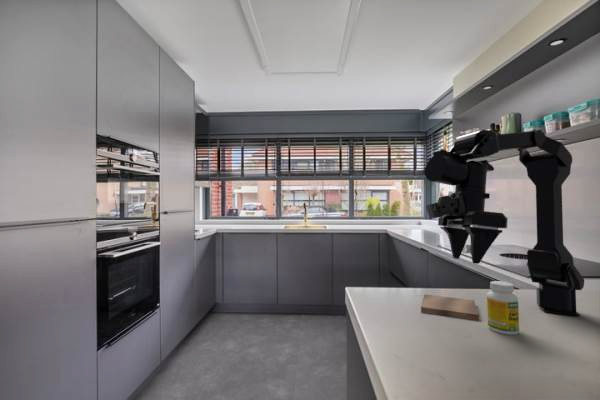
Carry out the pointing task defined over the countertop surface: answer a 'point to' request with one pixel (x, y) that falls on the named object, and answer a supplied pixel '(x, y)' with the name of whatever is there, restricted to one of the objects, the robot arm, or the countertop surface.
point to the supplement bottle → (502, 308)
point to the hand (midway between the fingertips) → (465, 260)
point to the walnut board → (449, 306)
